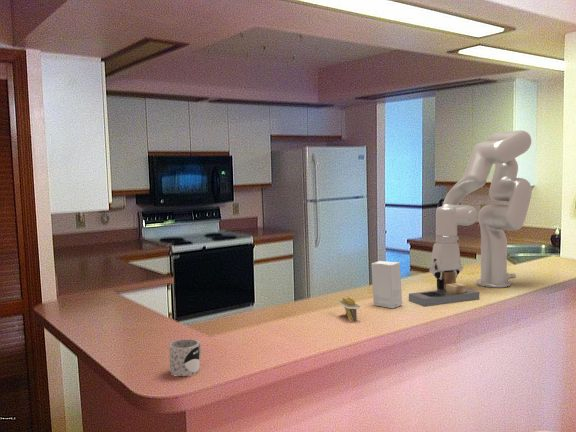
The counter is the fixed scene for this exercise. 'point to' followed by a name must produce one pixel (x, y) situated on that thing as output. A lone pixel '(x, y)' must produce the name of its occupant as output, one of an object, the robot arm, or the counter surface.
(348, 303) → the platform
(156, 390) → the counter surface
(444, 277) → the walnut block
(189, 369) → the mug
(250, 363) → the counter surface
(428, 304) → the grey flat frame
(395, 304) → the skincare box
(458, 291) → the seated oak block
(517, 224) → the robot arm
